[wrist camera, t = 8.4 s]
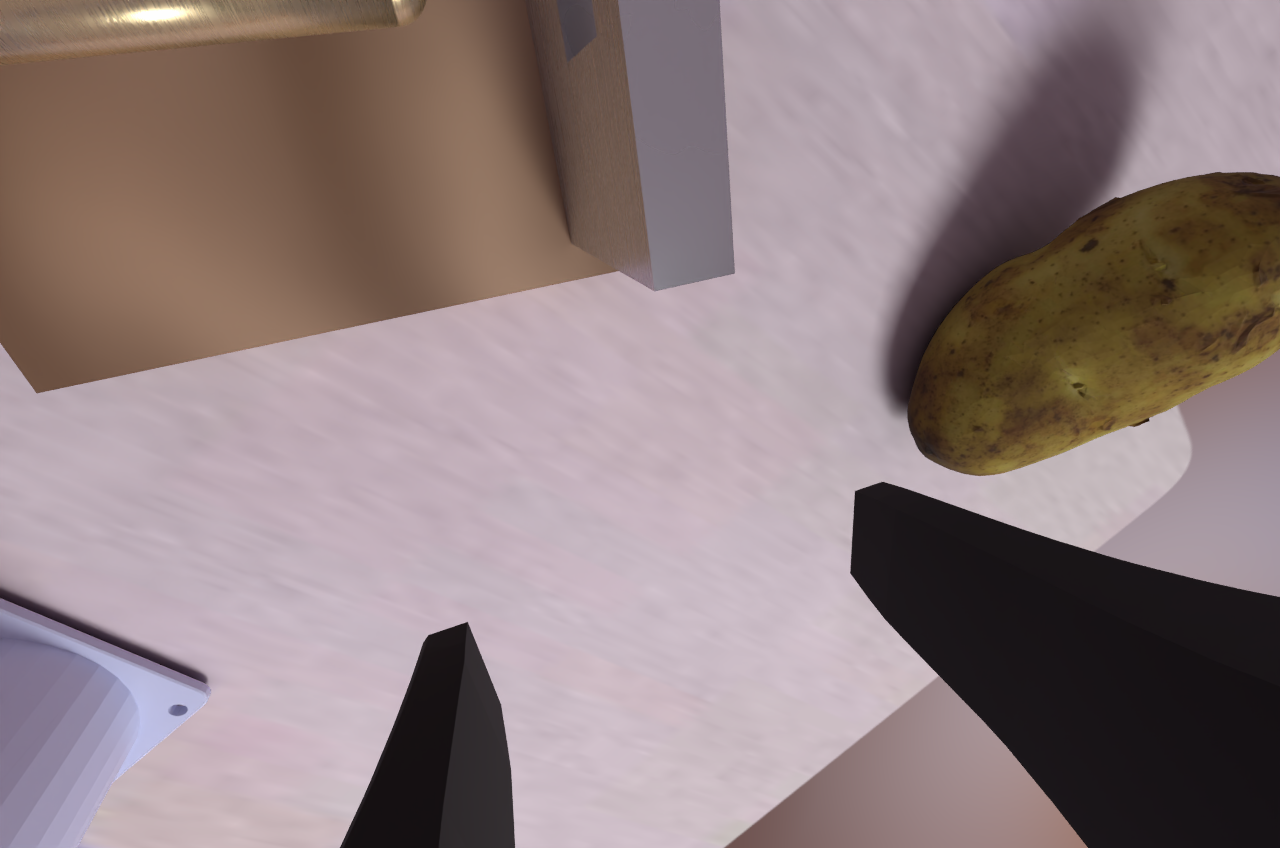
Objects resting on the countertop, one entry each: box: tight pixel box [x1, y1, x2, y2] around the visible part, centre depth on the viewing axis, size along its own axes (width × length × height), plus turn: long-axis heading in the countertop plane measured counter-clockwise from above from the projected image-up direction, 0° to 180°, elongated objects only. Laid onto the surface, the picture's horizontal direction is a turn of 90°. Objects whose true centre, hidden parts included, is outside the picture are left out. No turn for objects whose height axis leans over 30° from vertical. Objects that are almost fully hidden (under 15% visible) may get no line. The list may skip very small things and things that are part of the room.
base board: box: [0, 0, 618, 393], centre depth 13 cm, size 18×12×2 cm, turn 97°
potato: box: [908, 172, 1280, 476], centre depth 20 cm, size 8×13×8 cm, turn 117°
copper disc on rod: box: [0, 0, 427, 66], centre depth 7 cm, size 11×8×8 cm
